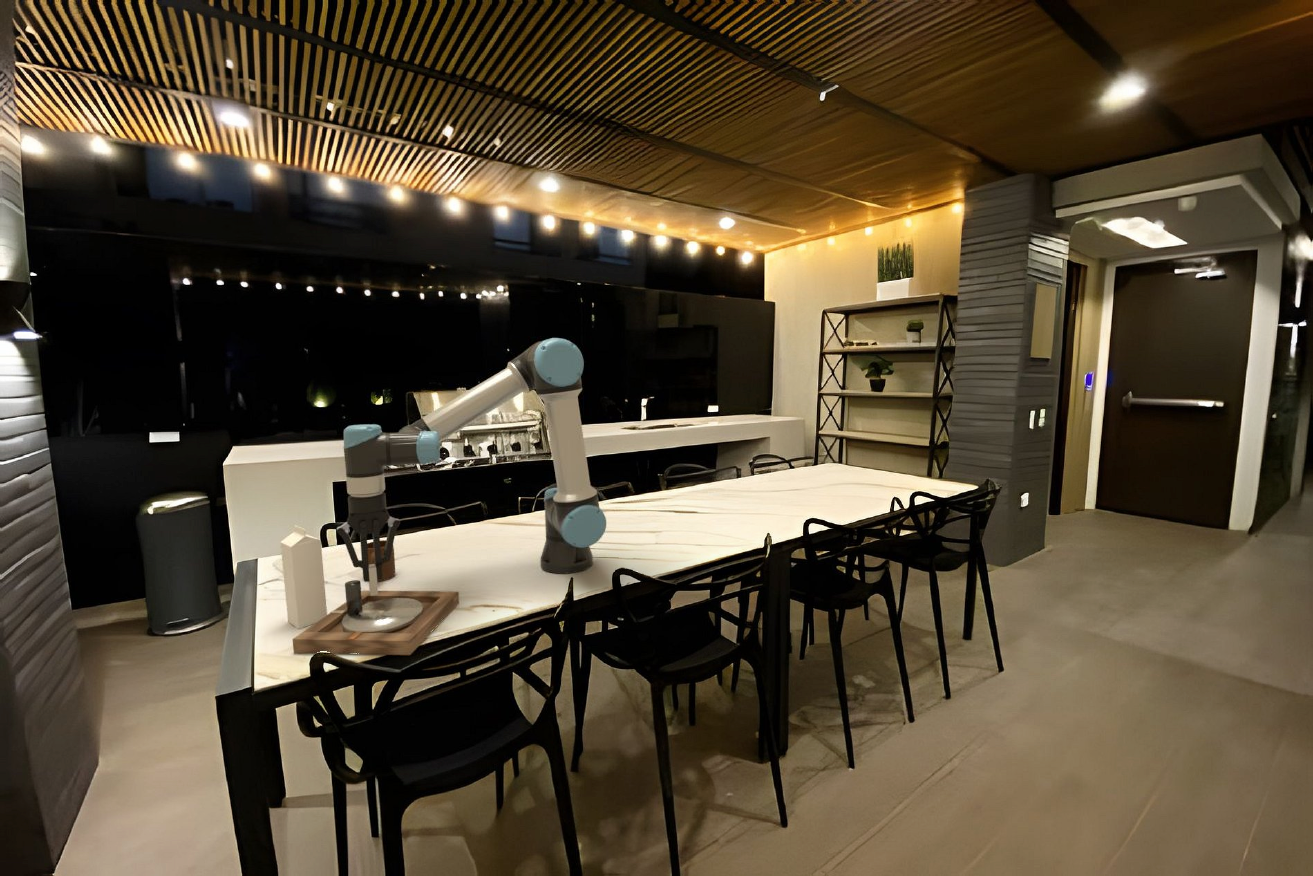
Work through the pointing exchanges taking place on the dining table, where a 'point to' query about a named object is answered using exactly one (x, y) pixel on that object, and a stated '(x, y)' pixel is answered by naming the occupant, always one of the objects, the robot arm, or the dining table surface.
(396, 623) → the dial
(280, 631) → the dining table surface
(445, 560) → the dining table surface
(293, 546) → the milk
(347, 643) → the board
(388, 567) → the mug
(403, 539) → the dining table surface
